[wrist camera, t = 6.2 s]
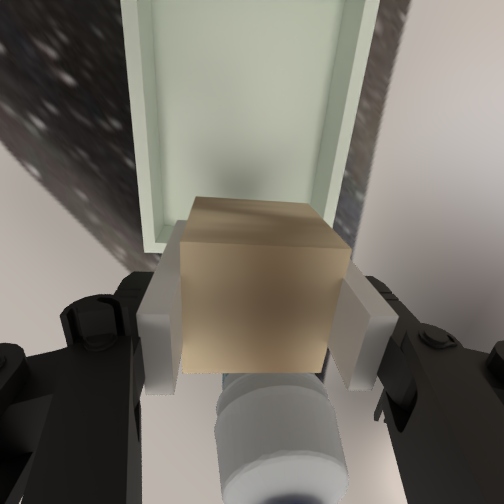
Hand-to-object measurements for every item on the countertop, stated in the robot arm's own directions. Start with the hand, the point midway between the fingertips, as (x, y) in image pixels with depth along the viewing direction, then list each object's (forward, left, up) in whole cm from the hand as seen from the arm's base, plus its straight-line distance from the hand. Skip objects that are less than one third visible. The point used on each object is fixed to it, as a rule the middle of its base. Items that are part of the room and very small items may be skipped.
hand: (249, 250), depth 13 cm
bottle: (+9, +4, -12) cm, 15 cm away
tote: (-5, -1, -11) cm, 12 cm away
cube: (0, 0, 0) cm, 0 cm away
